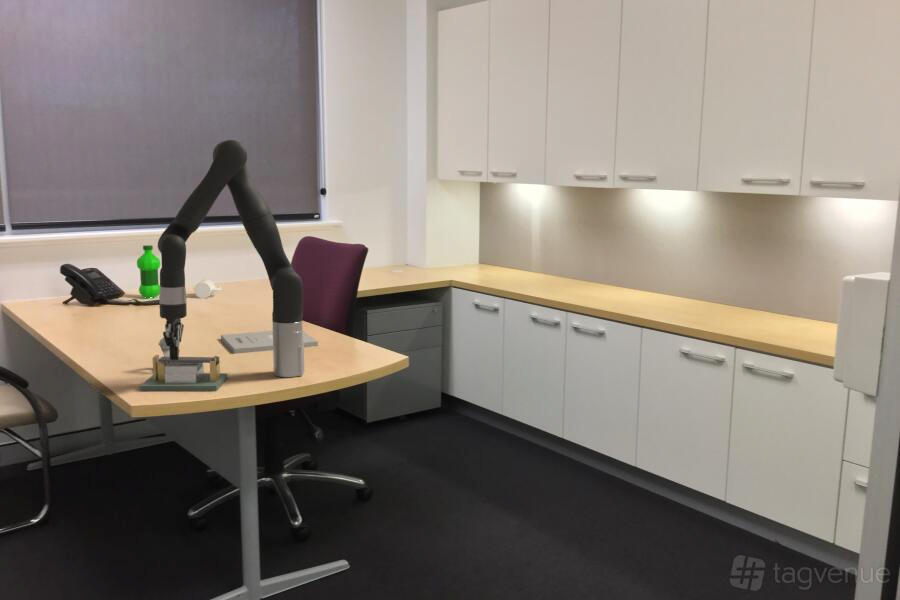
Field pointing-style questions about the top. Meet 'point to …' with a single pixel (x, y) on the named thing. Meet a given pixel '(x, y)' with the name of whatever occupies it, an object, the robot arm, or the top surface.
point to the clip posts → (160, 366)
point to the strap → (189, 359)
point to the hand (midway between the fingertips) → (174, 358)
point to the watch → (165, 348)
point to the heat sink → (183, 373)
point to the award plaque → (257, 341)
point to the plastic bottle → (149, 273)
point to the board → (201, 385)
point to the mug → (205, 288)
